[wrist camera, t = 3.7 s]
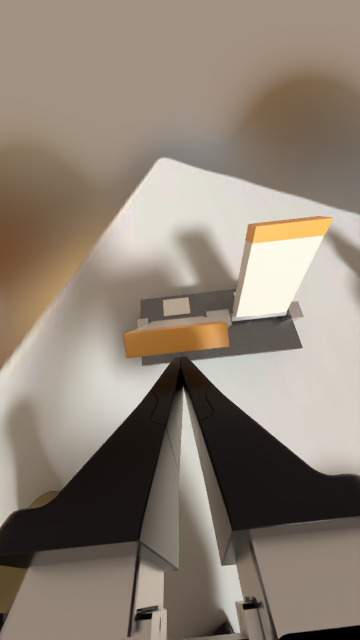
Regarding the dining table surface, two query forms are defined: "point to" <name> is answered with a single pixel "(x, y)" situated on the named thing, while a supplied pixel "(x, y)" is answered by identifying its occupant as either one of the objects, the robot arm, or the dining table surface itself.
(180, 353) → the light switch frame
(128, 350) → the panel
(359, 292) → the dining table surface
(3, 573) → the pepper shaker
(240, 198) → the dining table surface
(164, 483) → the robot arm
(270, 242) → the white orange-topped slab
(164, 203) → the dining table surface
